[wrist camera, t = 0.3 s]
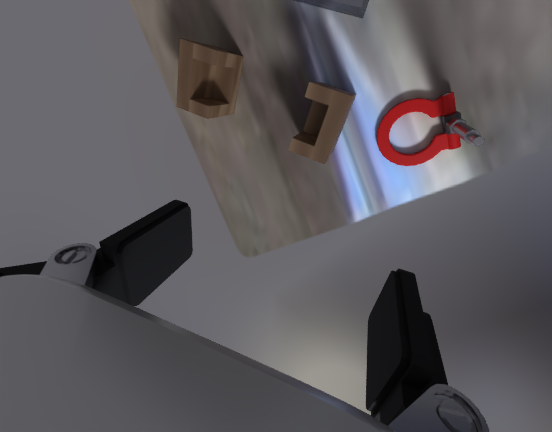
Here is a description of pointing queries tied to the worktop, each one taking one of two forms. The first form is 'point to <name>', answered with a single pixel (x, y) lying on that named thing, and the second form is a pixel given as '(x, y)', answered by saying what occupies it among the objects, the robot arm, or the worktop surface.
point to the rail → (341, 6)
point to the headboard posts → (224, 86)
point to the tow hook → (446, 140)
